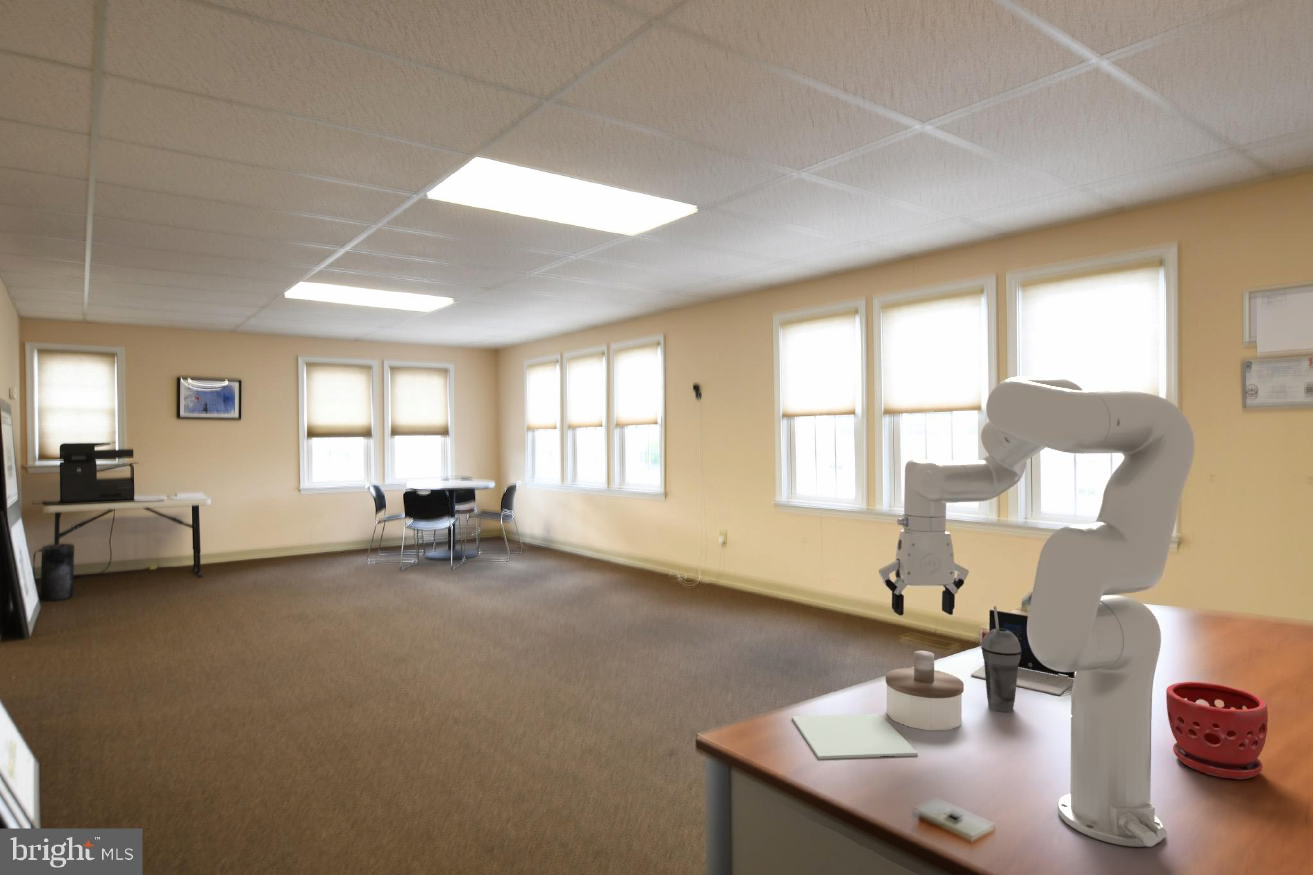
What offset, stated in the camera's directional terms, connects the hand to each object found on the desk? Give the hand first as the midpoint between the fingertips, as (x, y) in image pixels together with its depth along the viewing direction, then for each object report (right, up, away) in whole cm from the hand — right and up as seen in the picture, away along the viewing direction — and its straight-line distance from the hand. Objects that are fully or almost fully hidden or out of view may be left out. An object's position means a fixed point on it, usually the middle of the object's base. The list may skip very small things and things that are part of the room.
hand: (922, 613), depth 141 cm
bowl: (0, -20, 0) cm, 20 cm away
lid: (0, -14, 0) cm, 14 cm away
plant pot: (+40, -20, -21) cm, 49 cm away
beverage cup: (+17, -20, +4) cm, 26 cm away
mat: (-16, -20, -10) cm, 27 cm away
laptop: (+30, -20, +21) cm, 42 cm away
